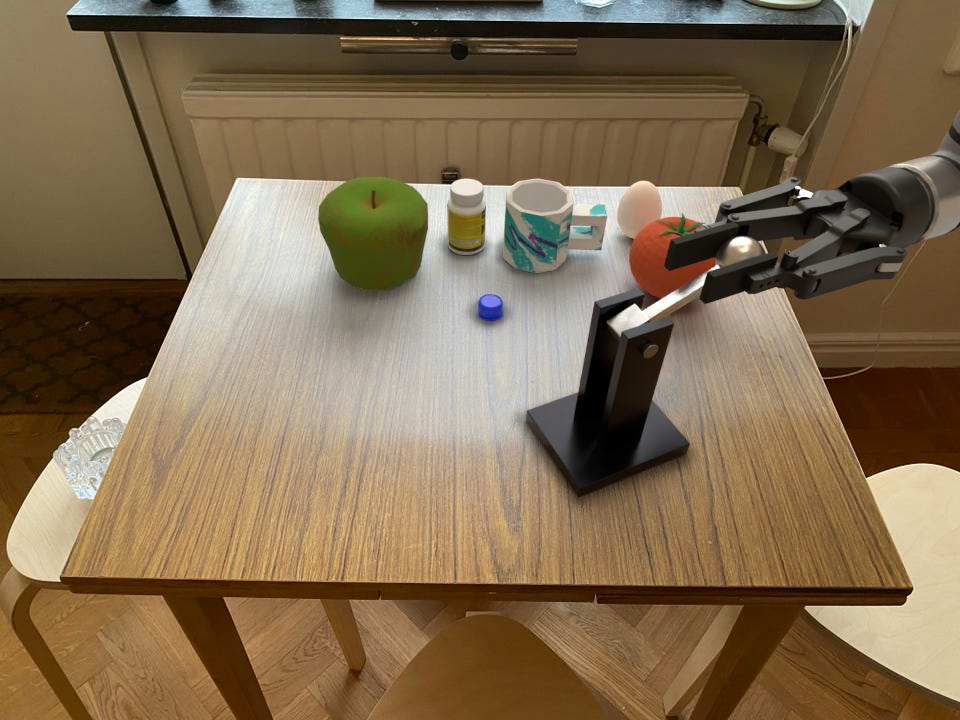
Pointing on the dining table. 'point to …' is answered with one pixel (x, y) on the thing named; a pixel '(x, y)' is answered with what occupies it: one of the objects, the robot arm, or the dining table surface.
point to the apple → (374, 231)
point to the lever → (684, 288)
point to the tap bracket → (612, 405)
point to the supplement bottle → (466, 217)
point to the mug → (548, 225)
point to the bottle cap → (490, 307)
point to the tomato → (663, 256)
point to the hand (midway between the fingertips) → (688, 271)
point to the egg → (638, 208)
